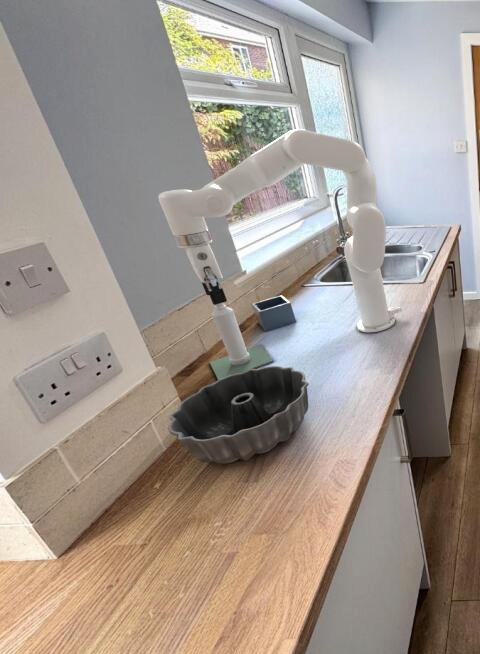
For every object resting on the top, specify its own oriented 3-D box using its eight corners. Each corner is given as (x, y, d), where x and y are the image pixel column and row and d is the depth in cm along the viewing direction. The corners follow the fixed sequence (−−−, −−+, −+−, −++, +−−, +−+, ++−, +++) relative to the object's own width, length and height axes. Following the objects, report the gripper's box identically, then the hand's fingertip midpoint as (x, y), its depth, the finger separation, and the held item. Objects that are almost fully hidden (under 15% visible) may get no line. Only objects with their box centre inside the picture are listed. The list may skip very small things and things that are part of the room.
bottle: (236, 357, 124) (207, 281, 113) (254, 355, 124) (226, 280, 114) (227, 366, 119) (195, 288, 109) (245, 365, 119) (215, 287, 109)
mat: (260, 345, 131) (260, 344, 131) (273, 361, 121) (273, 360, 121) (209, 363, 122) (209, 362, 122) (219, 382, 113) (218, 380, 113)
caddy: (287, 313, 153) (281, 295, 150) (296, 321, 146) (290, 302, 143) (258, 322, 147) (251, 303, 143) (265, 331, 140) (258, 311, 137)
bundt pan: (294, 384, 110) (284, 353, 106) (336, 428, 93) (326, 393, 89) (176, 436, 93) (158, 401, 89) (200, 502, 76) (180, 463, 72)
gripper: (216, 241, 102) (239, 302, 109) (204, 230, 114) (225, 286, 121) (180, 248, 98) (206, 311, 105) (171, 236, 109) (195, 294, 116)
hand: (216, 298), depth 113 cm, fingers open, 9 cm apart
